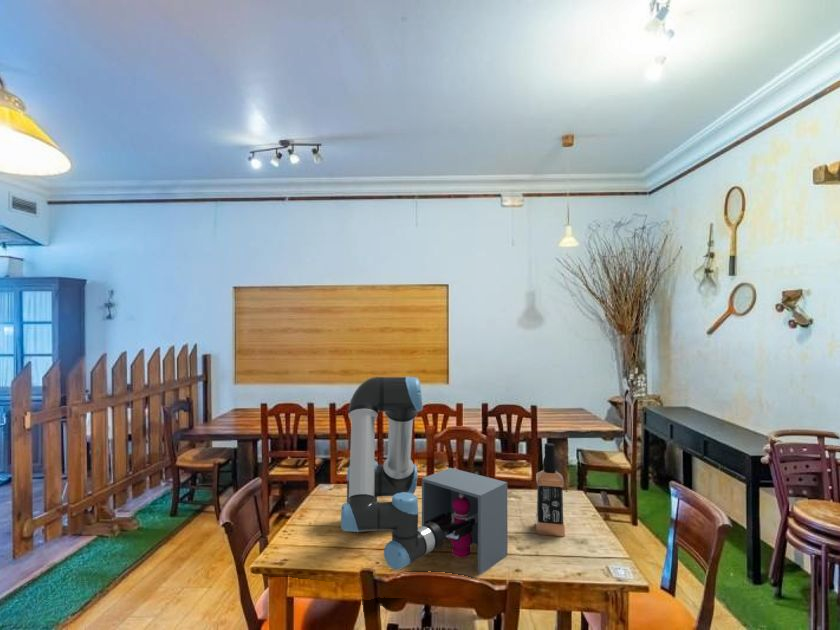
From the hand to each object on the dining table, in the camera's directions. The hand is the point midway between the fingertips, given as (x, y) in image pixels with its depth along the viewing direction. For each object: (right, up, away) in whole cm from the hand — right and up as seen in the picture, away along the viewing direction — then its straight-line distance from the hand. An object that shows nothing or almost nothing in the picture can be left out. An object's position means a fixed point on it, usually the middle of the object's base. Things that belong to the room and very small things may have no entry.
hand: (470, 514), depth 156 cm
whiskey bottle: (+31, -12, +14) cm, 37 cm away
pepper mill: (-3, -11, -4) cm, 12 cm away
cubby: (-3, -11, -3) cm, 12 cm away
